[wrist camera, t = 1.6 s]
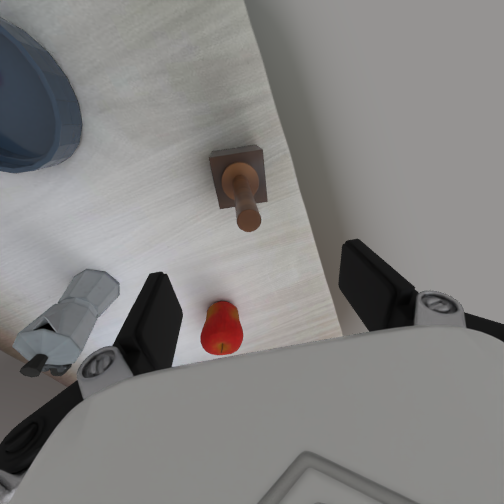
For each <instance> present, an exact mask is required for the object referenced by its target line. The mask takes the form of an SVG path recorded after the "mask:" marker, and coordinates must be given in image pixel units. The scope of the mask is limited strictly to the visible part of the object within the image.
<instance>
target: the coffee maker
mask: <svg viewBox="0 0 504 504" xmlns="http://www.w3.org/2000/svg"><path fill="white" fill-rule="evenodd" d="M118 296H119V282H117V281H116V280H115V279H114V278H113V277H111V276H110V275H109V274H108V273H107V272H103V271H96V270H90V269H86V270H85V271H83V272H81V273H80V274H78V275H76V276H75V277H74V278H73V280H72V281H71V283H70V284H69V286H68V287H67V289H66V291H65V292H64V294H63V295H62V297H61V299H60V300H59V302H58V304H54V305H53V306H52V307H50V308H49V309H48V310H47V311H45V312H44V313H43V314H42V315H40V316H39V317H38V318H37V319H35V320H34V321H33V322H32V323H30V324H29V325H28V326H27V327H25V328H24V329H23V330H22V331H20V332H19V333H18V335H17V337H16V340H15V342H14V344H13V348H15V349H16V350H17V351H18V352H19V353H20V354H21V355H23V356H24V357H25V358H26V359H27V360H29V362H28V363H27V364H25V365H24V366H23V367H22V368H21V370H20V372H21V373H22V374H23V375H25V376H29V377H36V376H39V374H40V372H41V371H44V372H46V371H48V370H49V369H50V371H51V374H52V375H53V376H62V375H63V374H65V373H66V372H67V371H68V369H69V368H70V367H71V365H72V363H75V361H76V360H77V358H78V357H79V355H80V354H81V352H82V351H83V348H84V346H85V344H86V342H87V340H88V338H89V335H90V333H91V331H92V329H93V327H94V325H95V322H96V320H97V318H98V317H99V316H100V315H101V314H102V313H103V312H104V311H105V310H106V309H107V308H108V307H109V306H110V305H111V304H112V302H113V301H114V300H115V299H116V298H117V297H118Z"/></svg>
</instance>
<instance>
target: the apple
mask: <svg viewBox="0 0 504 504" xmlns="http://www.w3.org/2000/svg"><path fill="white" fill-rule="evenodd" d="M242 341H243V330H242V327H241V324H240V321H239V315H238V310H237V308H236V307H235V306H234V305H232V304H231V303H229V302H226V301H220V302H217V303H214V304H213V305H212V306H210V307H209V309H208V310H207V315H206V321H205V324H204V327H203V329H202V333H201V344H202V346H203V348H204V350H205V351H206V352H208V353H210V354H214V355H227V354H232V353H234V352H235V351H237V350H238V349H239V347H240V345H241V343H242Z"/></svg>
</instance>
